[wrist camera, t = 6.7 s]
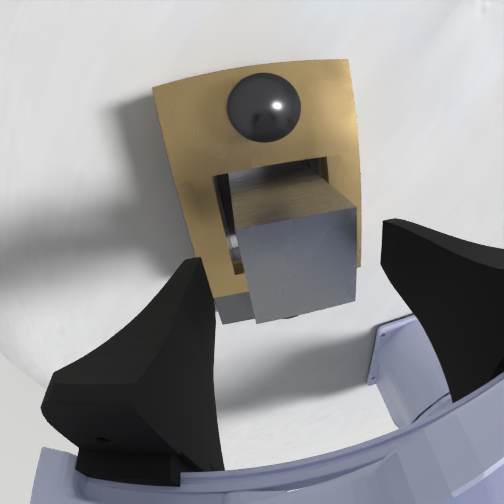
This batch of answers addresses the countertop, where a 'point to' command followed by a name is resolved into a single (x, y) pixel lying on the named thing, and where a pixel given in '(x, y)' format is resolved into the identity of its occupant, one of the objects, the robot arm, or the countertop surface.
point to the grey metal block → (293, 240)
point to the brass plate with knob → (254, 149)
